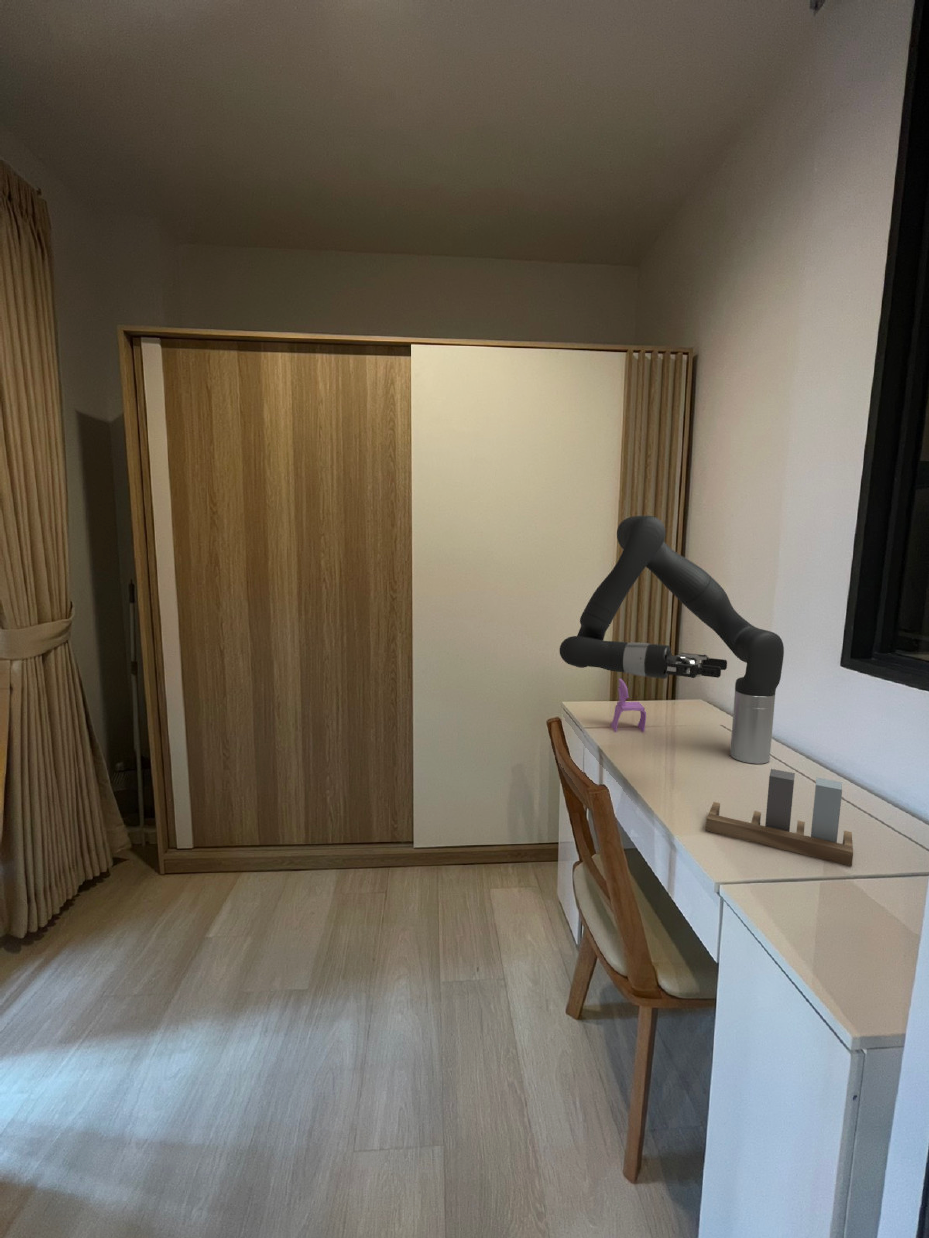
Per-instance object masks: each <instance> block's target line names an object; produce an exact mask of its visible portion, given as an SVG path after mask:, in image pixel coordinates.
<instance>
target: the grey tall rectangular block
mask: <svg viewBox="0 0 929 1238" xmlns="http://www.w3.org/2000/svg"><path fill="white" fill-rule="evenodd" d="M795 775H796V774H795V773H794V772H791V771H786V770H785V771H784V770H779V769H775V768H771V769H770V773H769V775H768V776H769V777H768V790H767V802H766V812H765V822H764V823H765V824H764V826H766V827H771V828H775V829H779V830H784V831H788V832H791V831H790V829H791V821H792V809H793V808H792V807H793V797H794V786H795Z"/></svg>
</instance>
